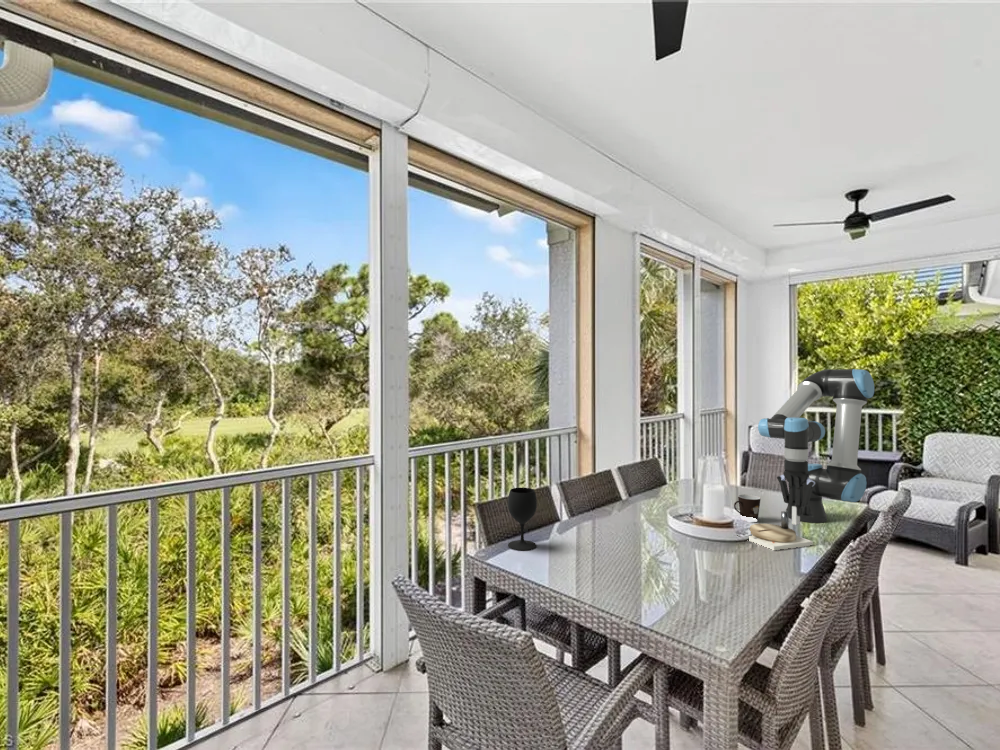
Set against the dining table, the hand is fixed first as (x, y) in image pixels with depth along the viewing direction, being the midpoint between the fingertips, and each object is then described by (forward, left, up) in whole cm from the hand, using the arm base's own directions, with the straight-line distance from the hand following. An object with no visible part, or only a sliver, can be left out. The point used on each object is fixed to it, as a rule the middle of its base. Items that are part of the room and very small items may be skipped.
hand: (795, 523), depth 184 cm
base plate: (+6, -5, -7) cm, 10 cm away
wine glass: (+97, -28, -7) cm, 101 cm away
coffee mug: (-4, -28, -7) cm, 29 cm away
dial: (+6, -5, -5) cm, 9 cm away
